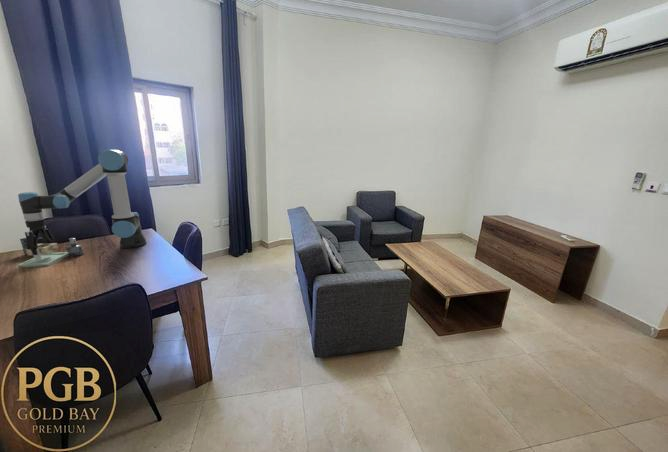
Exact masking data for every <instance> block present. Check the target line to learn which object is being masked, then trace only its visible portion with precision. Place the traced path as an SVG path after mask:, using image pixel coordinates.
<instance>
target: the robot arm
mask: <svg viewBox="0 0 668 452" xmlns="http://www.w3.org/2000/svg"><path fill="white" fill-rule="evenodd" d="M97 161H98V164H96V165H94V167H92V168H91V169H90V170H88V171H86V173H83V175H81V176H80V177H78V178H77V179H76V180H74V181H73V182H71V183H70V184H69V185H67V186H66V187H65V188H63V189H62V190H59V191H58V192H57V193H55V194H52V195H39V194H38V192H33V191H29V192H28V191H26V192H20V193H18V195H17V196H18V202H19V205H20V207H21V208H20V209H21V212H22V216H23V218H24V222H25V226H26V228H28V229H29V231H27V232H26V231H25V232H24V235H25V238H26V243H27V250H32V254H33V255H32V256H33V258H34V259H35V260H41V255H40V252H39V249H37V245H38V238H39V237H42V238H43V239H44V240H45V241H46V243H55V237H54V235H53V234H52V231H51V229H50V226H49V225H46V220H45V215H44V213H43V210H45V209H46V210H49V209H53V210H54V209H67V208H69V207H70V204H71V203H72V202H73V201H74V200H75V199H77V198H78V197H79V196H81V195H82V194H83V193H85V192H86V191H87V190H89V189H90V188H91V187H93V186H95V185H96V184H97V183H99V182H100V181H101V180H103V179H104V178H106V177H107V183H108V188H109V193H110V198H111V204H112V210H113V211H112V212H113V214H112V215H111V221H112V225H111V232H112V234H113V235H114V236H116V237H118V238H120V239H119V247H120V248H122V249H132V248H131V247H134V248H138V247H137V246H139V247H141V246H140V245H142V246H144V245H143V244H145V243H146V242H147V239H146V237H145V236H144V234H143V232H142V226H141V219H140V215H139V213H138V212H137V211H134V212H133V211H131V203H130V198H129V192H128V187H127V181H126V175H127V173H128V168H127V165H128V162H129V158H128V155H127V154H126V153H125V152H124V151H122V150H119V149H111V148H110V149H105V150H103V151H101V152H100V153H99V155H98V157H97ZM146 244H147V243H146ZM146 244H145V245H146ZM53 253H55V251H54V252H52V253H50V254H53Z"/></svg>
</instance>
